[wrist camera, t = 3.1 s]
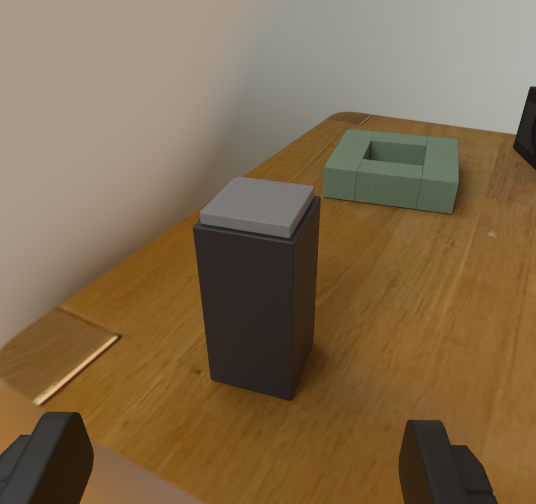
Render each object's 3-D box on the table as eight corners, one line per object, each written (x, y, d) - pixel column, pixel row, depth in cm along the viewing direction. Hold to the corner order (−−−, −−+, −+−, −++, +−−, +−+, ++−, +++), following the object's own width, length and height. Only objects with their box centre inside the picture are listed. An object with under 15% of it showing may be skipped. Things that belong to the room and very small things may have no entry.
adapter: (322, 197, 43) (323, 167, 41) (345, 154, 52) (347, 128, 50) (451, 214, 40) (459, 182, 38) (452, 166, 49) (458, 138, 47)
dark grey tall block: (210, 379, 24) (190, 214, 19) (241, 325, 28) (232, 173, 23) (291, 401, 23) (294, 230, 18) (313, 342, 27) (321, 184, 21)
